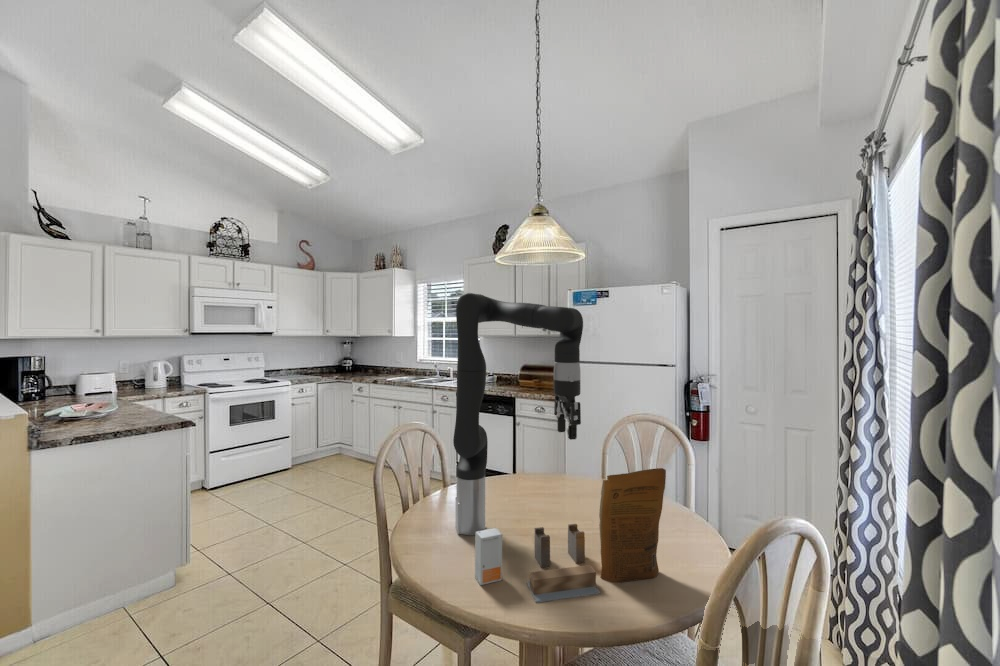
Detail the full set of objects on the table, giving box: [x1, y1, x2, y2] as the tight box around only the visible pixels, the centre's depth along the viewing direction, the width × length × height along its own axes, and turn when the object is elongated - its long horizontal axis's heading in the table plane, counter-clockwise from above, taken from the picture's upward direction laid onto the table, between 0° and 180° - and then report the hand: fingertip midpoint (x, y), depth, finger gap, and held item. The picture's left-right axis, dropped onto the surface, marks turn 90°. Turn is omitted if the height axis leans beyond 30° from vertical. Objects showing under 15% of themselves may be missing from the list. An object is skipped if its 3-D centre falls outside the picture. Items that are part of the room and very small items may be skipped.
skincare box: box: [474, 527, 503, 586], centre depth 113 cm, size 6×4×12 cm
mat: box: [526, 580, 601, 603], centre depth 109 cm, size 16×8×1 cm, turn 103°
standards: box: [534, 523, 586, 569], centre depth 122 cm, size 12×6×8 cm, turn 103°
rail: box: [529, 564, 597, 595], centre depth 109 cm, size 16×4×4 cm, turn 103°
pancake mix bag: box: [598, 467, 667, 583], centre depth 114 cm, size 7×19×28 cm, turn 101°
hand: (566, 435), depth 124 cm, fingers open, 8 cm apart
